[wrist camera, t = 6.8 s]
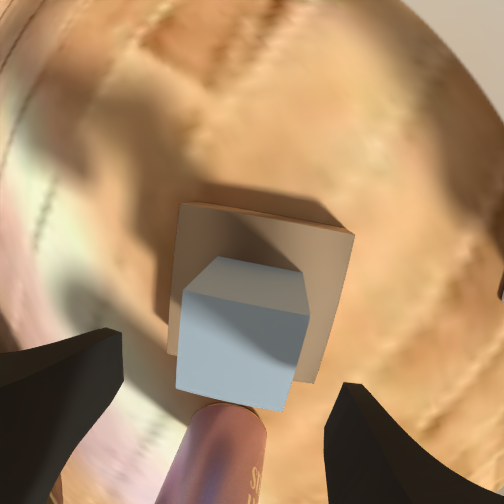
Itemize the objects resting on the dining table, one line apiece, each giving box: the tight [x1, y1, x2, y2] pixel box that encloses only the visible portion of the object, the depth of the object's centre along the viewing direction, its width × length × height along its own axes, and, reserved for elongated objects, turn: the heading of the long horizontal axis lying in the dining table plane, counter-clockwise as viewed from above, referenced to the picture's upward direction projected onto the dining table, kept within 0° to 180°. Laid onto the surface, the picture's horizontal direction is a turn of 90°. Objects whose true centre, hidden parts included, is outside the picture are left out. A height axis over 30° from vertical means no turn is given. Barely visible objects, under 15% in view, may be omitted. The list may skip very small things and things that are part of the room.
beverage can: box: [155, 403, 267, 504], centre depth 14 cm, size 6×6×15 cm
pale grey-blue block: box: [176, 256, 311, 412], centre depth 13 cm, size 4×4×6 cm
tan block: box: [167, 201, 355, 384], centre depth 17 cm, size 9×9×3 cm
